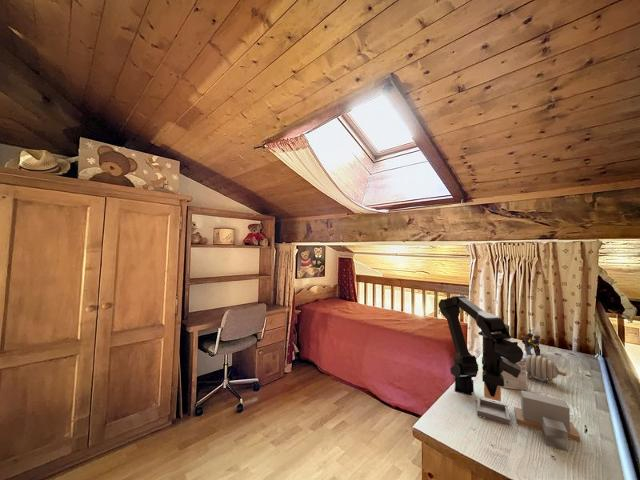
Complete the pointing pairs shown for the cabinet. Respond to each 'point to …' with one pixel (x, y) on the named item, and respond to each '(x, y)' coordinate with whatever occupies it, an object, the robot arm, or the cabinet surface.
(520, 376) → the ink cartridge box
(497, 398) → the terracotta block
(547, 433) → the grey block
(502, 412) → the tray
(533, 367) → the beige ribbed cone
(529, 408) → the mounted unit
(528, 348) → the doll family
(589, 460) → the cabinet surface
